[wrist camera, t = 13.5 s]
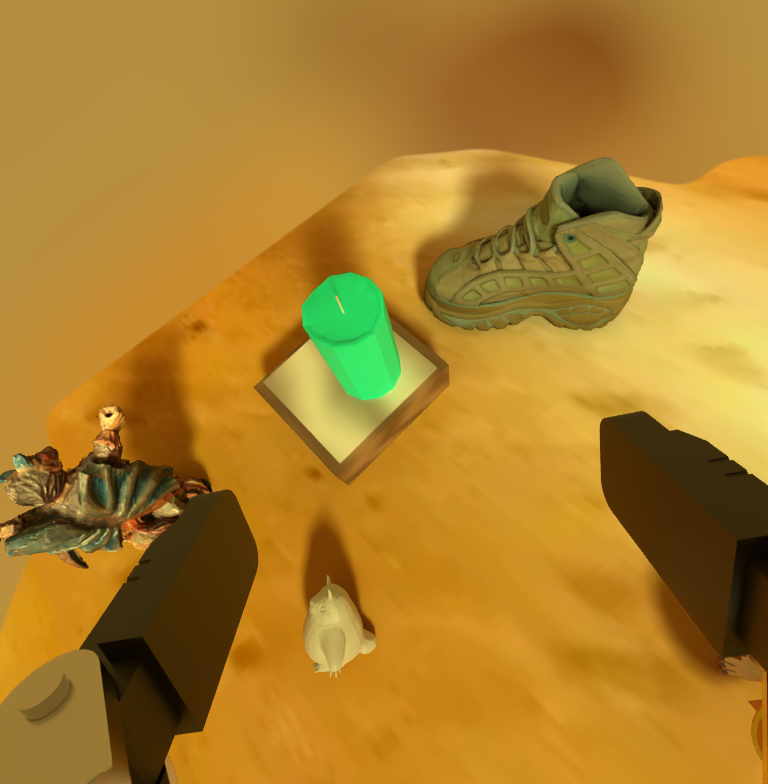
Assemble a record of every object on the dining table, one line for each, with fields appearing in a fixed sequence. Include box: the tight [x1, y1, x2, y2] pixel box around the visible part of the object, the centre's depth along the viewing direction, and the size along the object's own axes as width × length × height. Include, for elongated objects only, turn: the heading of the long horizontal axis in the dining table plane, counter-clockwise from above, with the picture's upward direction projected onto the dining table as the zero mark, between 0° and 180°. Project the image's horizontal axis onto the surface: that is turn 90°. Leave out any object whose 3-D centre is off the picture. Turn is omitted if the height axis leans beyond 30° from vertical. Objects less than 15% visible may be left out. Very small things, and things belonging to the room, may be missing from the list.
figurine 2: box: [303, 575, 377, 679], centre depth 35 cm, size 8×6×8 cm
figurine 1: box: [0, 405, 212, 569], centre depth 36 cm, size 11×9×18 cm
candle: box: [302, 272, 401, 400], centre depth 34 cm, size 6×6×12 cm
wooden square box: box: [254, 315, 449, 485], centre depth 42 cm, size 14×12×5 cm
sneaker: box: [424, 157, 663, 331], centre depth 39 cm, size 11×19×15 cm, turn 69°
